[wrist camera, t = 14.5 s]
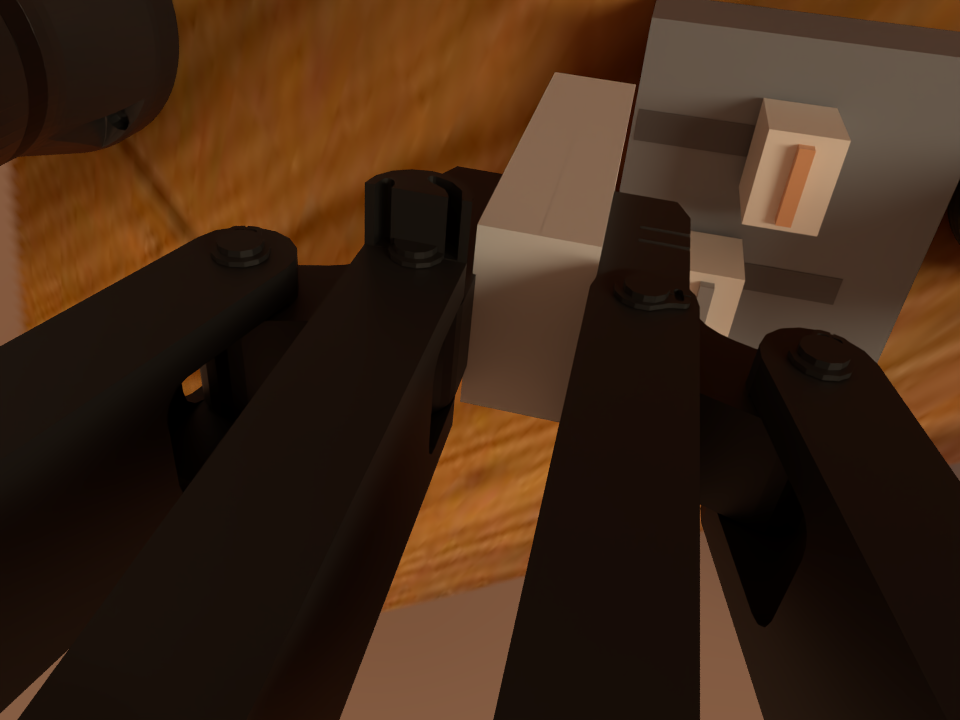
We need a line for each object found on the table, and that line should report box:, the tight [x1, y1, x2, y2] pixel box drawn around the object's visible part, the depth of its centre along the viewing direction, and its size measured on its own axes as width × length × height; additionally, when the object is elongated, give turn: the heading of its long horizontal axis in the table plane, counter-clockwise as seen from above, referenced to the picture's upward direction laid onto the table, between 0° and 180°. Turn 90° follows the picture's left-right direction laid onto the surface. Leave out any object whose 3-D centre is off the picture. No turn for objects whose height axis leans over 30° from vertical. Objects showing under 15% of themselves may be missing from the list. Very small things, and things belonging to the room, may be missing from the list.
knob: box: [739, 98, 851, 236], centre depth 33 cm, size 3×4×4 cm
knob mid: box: [690, 231, 745, 337], centre depth 37 cm, size 3×4×4 cm
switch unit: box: [619, 0, 960, 363], centre depth 41 cm, size 14×22×5 cm, turn 175°
